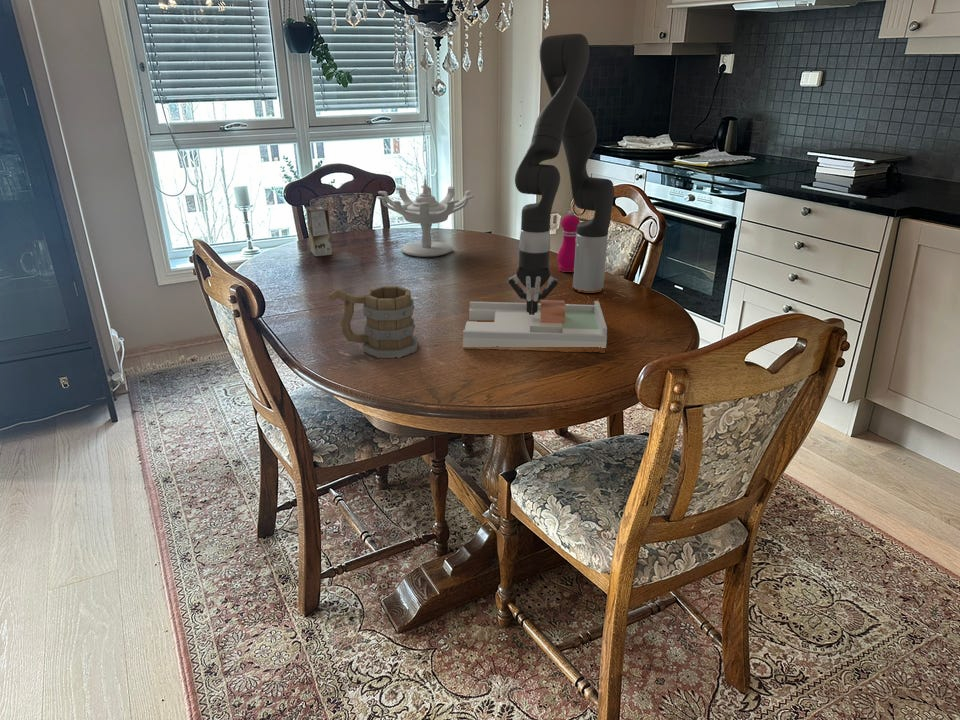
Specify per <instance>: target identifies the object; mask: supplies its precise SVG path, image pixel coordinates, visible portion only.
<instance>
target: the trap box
mask: <svg viewBox="0 0 960 720" xmlns="http://www.w3.org/2000/svg"><path fill="white" fill-rule="evenodd" d="M526 307H527V302H508V301H507V302H506V301H505V302H504V301H503V302H501V301H497V302H496V301H469V309H468V320H467V321H466V323H465V327H464V329H463V330H462V348H463V347H492V346H493V347H496V346H499V347H599V348H600V347H601V348H606V349H607V343H608V342H607V341H608V327H607V324H606V323H607V322H606V321H605V320H606V319H605V317H604V314H603V311H602V307H601V305H600V302H599V300H594V304H573V303H570V304H569V303H565V308H566V310H565V323H541V315H540V314H541V302H540V303H539V302H538V310H537V313H535V315H529V312H527V311H526ZM469 320H494V322H477V321H469Z"/></svg>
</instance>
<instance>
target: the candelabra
mask: <svg viewBox="0 0 960 720" xmlns="http://www.w3.org/2000/svg"><path fill="white" fill-rule="evenodd" d="M421 188H422V192H421V193H420V194H418V195H417V196H416V197H415V200H414V201H413V200H412V199H411V198H410V197H409V196H408V192H407V189H406V188H404V187H400V186H396V187H394V189H395V190H396V191H398V195H399V198H400V199H401V200H402V202H403V204H402V203H401V201H400V200H392V199H391V198H390V197H389V195H388V191H384V190H379V191H378V192H377V193H378V194H379V195H380V196H379V195H378V196H377V199H378V200H381V202H382V205H383V206H384V207H386V208H387V209H389V210H390V211H393V212H396V213H397V214H399V215H402V217H403V218H404V220H405V221H406V222H407V223H412V224H419V225H420V227H421V230H422V231H421V232H422V234H421V241H414V242H410V243H406V244H403V246H401V249H400V251H401V252H402V253H404V254H406V255H409V256H411V257H413V256H414V257H424V258H427V257H429V258H430V257H432V258H433V257H439V256H444V255H446V254H450V253H451V252H452V251H453V246H451V245H450V244H449V243H445V242H442V241H441V242H440V241H433V240H432V234H431V229H432V226H433V224H439V223H443V222H446V221H447V220H448V218H449V216H450V215H451V214H454V213H456V212H458V211H461V210H462V209H463V208H466V206H467V205H468V204H469V200H471V199H474V198H475V195H470V194H472V192H473V191H472V190H470V189H469V190H466V191H465V192H464V195H463V197H462V199H460V200H459V199H458V200H457V199H455V200H453V198H455V197H454V195H455V187H454V186H451V185H450V186H448V187H447V193H446V195H445V196H444V198H443V199H442V200H441V201H438V200H436V197H435V196H434V195H433V194H432V188H431V187H430V186H428V184H427V180H426V177H424V181H423V185H421ZM381 195H383V196H381Z"/></svg>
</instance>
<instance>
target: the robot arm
mask: <svg viewBox="0 0 960 720" xmlns="http://www.w3.org/2000/svg"><path fill="white" fill-rule="evenodd" d="M539 61H540V66H541V70H542V73H543V76H544V79H545V83H546V85H547V88H548V90H549V94H550V96H551V98H550V100H549V101H548V102H547V103H546V104H545V105H544V107H543V108H542V109H541V111H540V113H539V114H538V117H537V118H536V121H535V124H534V129H533V133H532V136H531V142H530V144H529V147H528V149H527V151H526V153H525V154H524V156H523V158H522V160H521V162H520V163H519V166H518V167H517V170H516V171H515V176H514V184H515V188H516V190H517V191H518V192H519V193H520V194H524V195H535V196H541V199H540V201H539V202H536V203H535V202H534V203H529V204H525V205H524V206H523V207H522V209H521V216H520V217H521V219H520V220H521V221H520V233H519V234H520V236H519V244H518V247H519V248H518V251H519V252H518V254H519V255H518V268H517V269H516V274H514V275H513V276H509V278H508V284H509V285H510V287H511V288H512V289H513V290H514V292H515V293H516V294H517V295H518V297H519V298H520V299H523V300H526V303H527V307H526V311H527V312H529V315H535V313H537V310H538V303H539V301H541V300H546V298H547V297H548V295H549V294H551V292H552V291H553V290H554V289H555V288H556V287H557V286H558V284H559V283H558V281H559V280H558V279H557V278H556V277H553V275H551V271H550V251H551V230H550V229H551V218H552V217H551V216H552V209H553V206H554V202H555V199H556V195H557V193H558V190H559V187H560V184H561V173H560V171H559V169H558V167H557V166H555V165H552V164H543V163H542V162H545V161H547V160H553V159H555V158H557V157H558V155H559V154H560V153H559V152H560V150H561V145H562V146H563V149H564V153H565V157H566V162H567V167H568V172H569V181H570V186H571V195H572V200H573V202H574V204H575V206H576V207H577V208H578V209H581V210H585V211H592V212H593V211H594V215H593V217H592V218H591V219H588V220H584V221H580V223H579V224H578V225H577V232H576V248H575V262H574V273H573V277H572V278H573V279H572V288H573V287H574V288H575V289H578V290H584V291H595V290H599V289H602V288H603V289H604V281H605V274H606V272H605V271H606V261H607V250H608V239H609V238H608V237H609V230H610V225H611V217H612V211H613V206H614V205H613V204H614V199H615V198H614V197H615V186H614V183H613V181H612V180H611V179H609V178H601V177H592V176H591V177H590V176H589V175H588V171H587V163H588V160H589V159H590V157H591V155H592V154H593V151H594V149H595V147H596V144H597V141H598V140H597V139H598V134H597V129H596V124H595V123H596V122H595V118H594V115H593V114H592V113H593V112H592V111H591V110H590V108H589V107H588V106H587V105H586V103H584V102H583V100H582V99H581V98H580V97H579V96H578V93H579V90H580V87H581V85H582V83H583V79H584V77H585V74H586V72H587V71H586V70H587V67H588V66H589V65H588V64H589V61H590V46H589V40H588V39H587V37H586V36H585V35H584V34H581V33H565V34H554V35H549V36H545V37H544V38H543V39H542V40H541V42H540V45H539ZM519 281H520V282H521V284H522V285H523V286H524V287H525V288H526V289H525V290H526V291H524V289H522V287H521V286H520V285H519ZM546 282H547V284H546V286H545V287H544V289H543V290H542V291H541V292H540V290H541V289H540V288H542V287H543V286H544V285H545V283H546ZM532 288H533V296H532ZM532 297H533V298H532Z"/></svg>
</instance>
